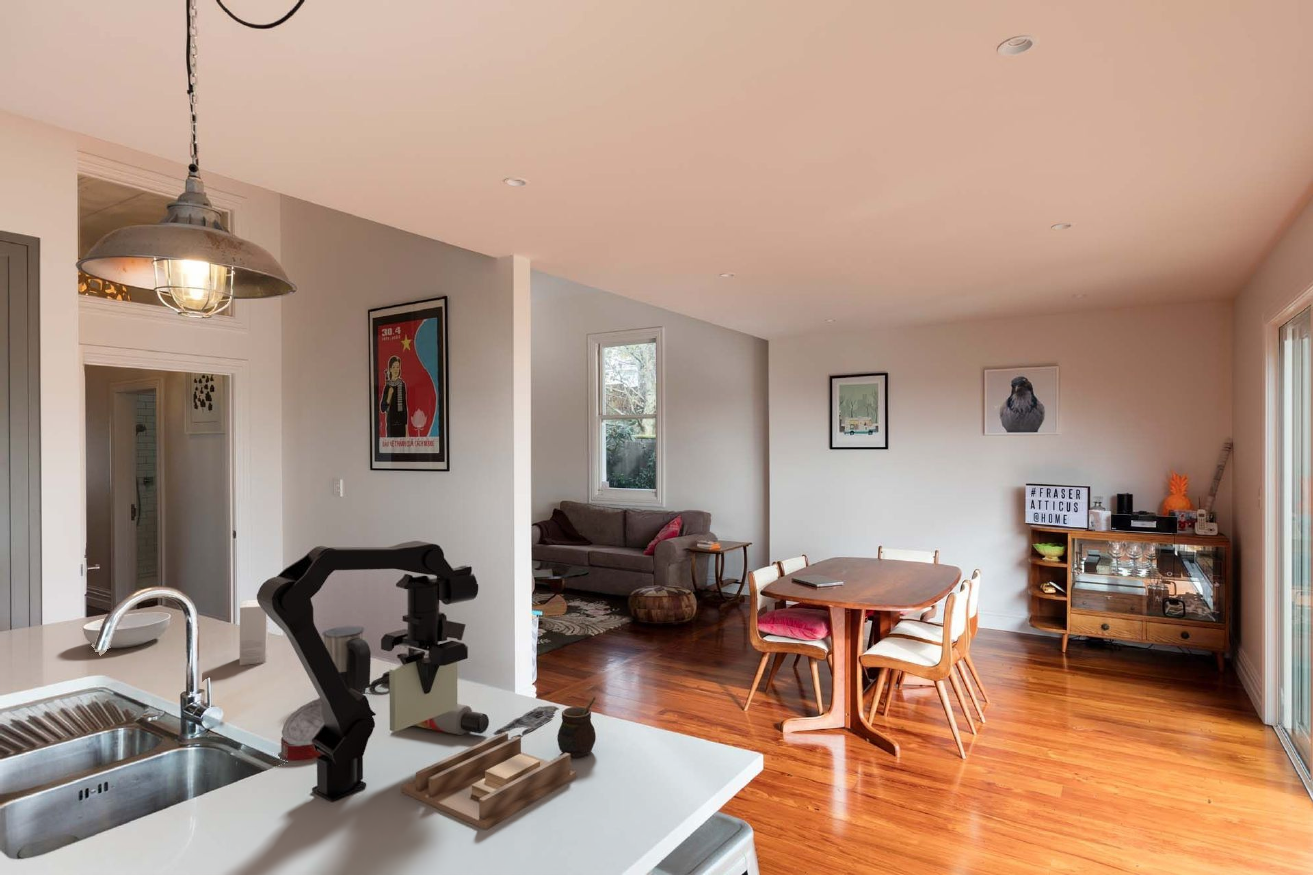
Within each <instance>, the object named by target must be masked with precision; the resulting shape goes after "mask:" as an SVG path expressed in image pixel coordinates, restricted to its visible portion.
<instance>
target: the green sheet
mask: <svg viewBox="0 0 1313 875" xmlns="http://www.w3.org/2000/svg"><path fill="white" fill-rule="evenodd" d="M389 677H390V682H389V731H391V732H395V733H396V732H398V731H402V730H404V729H406V728H409V727H411V726H412V727H413V725H415V724H417V723H420V722H423V721H425V720H428V719H430V718H433V717H436V716H438V715H441V714H443V713H446V712H449V711H451V710H454V709H456V708H457V704H458V662H455V663H452V664H448V665H445V666H440V667H439V669H438V671H437V674H436V677H435V679H434V682H433V685H432V688H431V691H430V693H428V694H424V691H423V689H422V685H421V681H420V677H419V673H418V670H417V666H416V662H411V663H408V664H405V665H403V664H401V665H398V666H395V667H391V668H389Z"/></svg>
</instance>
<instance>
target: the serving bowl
mask: <svg viewBox="0 0 1313 875" xmlns="http://www.w3.org/2000/svg"><path fill="white" fill-rule="evenodd" d="M123 615H124V617H123V618H122V621H121V622H120V623H119V625H118V626H117V629H116V630H115V633H114V634H113V638H112V641H111V645H110V647H109V648H111V649H125V648H131V647H136V646H140V645H143V644H146V643H147V642H150V641H153V640H154V639H156V638H158V637H160V636H162V634H164V633H165V632H166V631H167V629H168V627H169V625H170V623H171V620H172V618H171V617H172V616H171V614H169V613H166V612H160V611H159V612H155V611H154V612H137V613H129V614H123ZM104 619H105V618H102V619H97V620H94V621H90V622H88V623H86V624H85V625H83V626H82V631H83V635H84V637H85V639H86V640H87V642H89V643H90V644H92V645H94V646H96V645H95V642H96V639H97V636H98V633H99V631H100V627H101V626H102V623H103V621H104Z"/></svg>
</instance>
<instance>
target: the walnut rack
mask: <svg viewBox="0 0 1313 875" xmlns="http://www.w3.org/2000/svg"><path fill="white" fill-rule="evenodd" d="M510 739H511V738H510ZM518 754H522V755H525V756H528V757H530V758H533V759H536V760H539V761H540V767H538V768H536V769H534V770H533V771H531V772H529V773H527V774H525V775H523V776H521V777H519V778H518V779H516V780H514V781H512V782H510V783H508V784H506V785H504V786H502V787H501V788H499V789H497V790H495V791H493V792H491V793H489V794H487V795H486V796H484V797H482V798H480V797H478V796H476V795H473V794H472V784H474V783H476V782H478V781H480V780H482V779H484V778H485V771H486V770H488V769H490V768H492V767H494V766H496V765H498V764H500V763H502V762H504V761H506V760H508V759H510V758H512V757H514V756H516V755H518ZM576 778H577V771H576V770H574V769H571V758H570V754H569V753H564V754H563V753H562V754H561V755H559V756H556V757H555V758H554V759H552V760H549V761H547V760H544V759H542V758H539V757H536V756H533V755H531V754H528V753H525V752H523V751H522V737H514V738H513V739H511V740H509V733H508V732H504V733H502V734H499V735H494V736H493V737H491V738H489V739H486V740H484V741H482V742H480V743H478V744H475V745H473V746H471V747H469V748H467V749H464V750H462V751H460V752H458V753H455V754H454V755H451V756H448V757H447V758H445V759H442V760H440V761H438V762H436V763H433V764H431V765H429V766H427V767H424V768H422V769H420V770H418V771H416V772H415V779H414V780H411V781H409V782H407V783H405V784H403V785H401V786H400V789H401V790H400V793H403V794H405V795H407V796H410V797H411V798H414V799H416V800H419V802H420V801H421V802H422V803H425V804H427V805H430V806H432V807H434V808H436V809H438V810H441V811H443V812H445V813H447V814H450V815H452V816H454V817H456V818H458V819H461V820H462V821H465V822H466V823H469V824H471V825H473V826H476V827H478V828H480V829H483V830H485V831H486V830H488V829H490V828H491V827H493V826H495V825H496V824H498V823H500V822H502V821H503V820H505V819H507V818H509V817H510V816H512V815H514V814H515V813H517V812H519V811H520V810H523V809H524V808H526V807H528V806H529V805H530V804H533V803H534V802H536V801H538V800H540V799H541V798H543V797H545V796H546V795H548V794H550V793H552V792H553V791H555V790H557V789H559V788H560V787H562V786H563V785H566V784H567V783H568V782H571V781H572V780H574V779H576Z"/></svg>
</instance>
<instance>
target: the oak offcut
mask: <svg viewBox="0 0 1313 875" xmlns="http://www.w3.org/2000/svg"><path fill="white" fill-rule="evenodd" d="M538 767H540V761H539V760H536V759H533V758H530V757H528V756H525V755H522V754H518V755H516V756H514V757H512V758H510V759H508V760H506V761H504V762H502V763H500V764H498V765H496V766H494V767H492V768H490V769H488V770H486V771H485V780H487V781H490V782H492V783H495V784H497V785H500V786H504V785H506V784H508V783H510V782H512V781H514V780H516V779H518V778H519V777H521V776H523V775H525V774H527V773H529V772H531V771H533V770H534V769H536V768H538Z"/></svg>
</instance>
